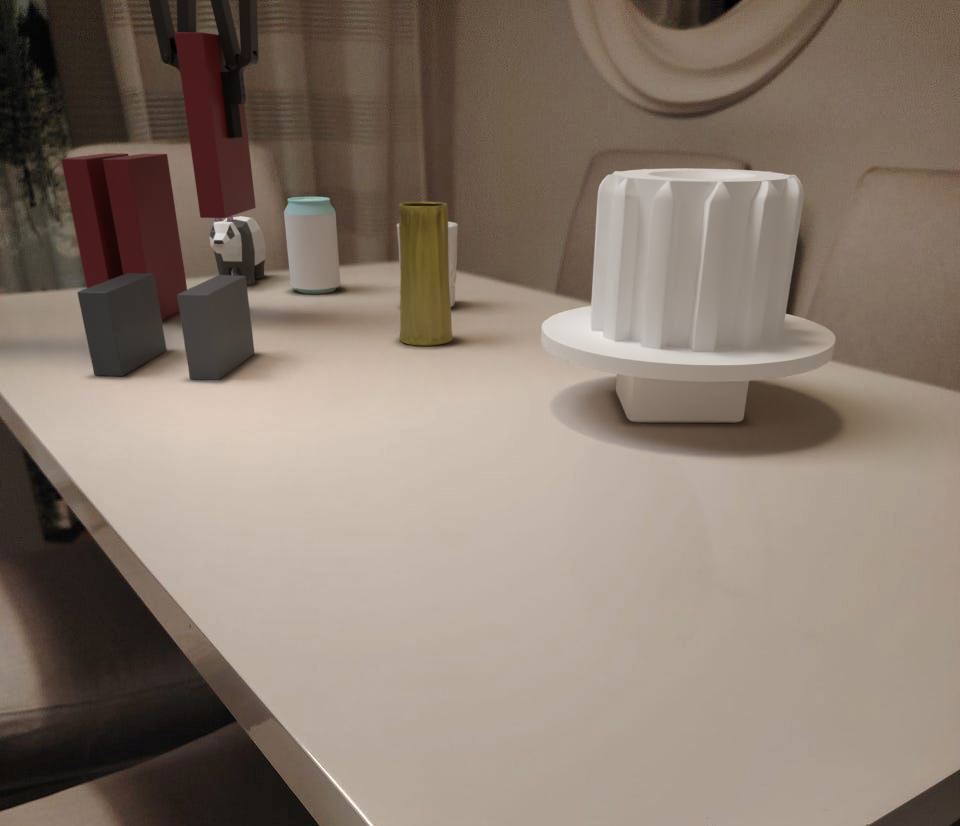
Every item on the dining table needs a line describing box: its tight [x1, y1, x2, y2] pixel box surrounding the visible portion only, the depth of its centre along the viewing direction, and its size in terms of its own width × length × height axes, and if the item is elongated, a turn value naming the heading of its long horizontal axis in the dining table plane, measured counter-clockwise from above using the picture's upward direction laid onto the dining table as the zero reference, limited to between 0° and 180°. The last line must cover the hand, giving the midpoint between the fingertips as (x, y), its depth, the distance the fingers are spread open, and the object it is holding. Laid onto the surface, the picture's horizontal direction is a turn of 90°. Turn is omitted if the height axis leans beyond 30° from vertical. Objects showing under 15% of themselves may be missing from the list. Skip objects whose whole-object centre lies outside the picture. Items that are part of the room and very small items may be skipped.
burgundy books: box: [60, 152, 188, 321], centre depth 116 cm, size 8×11×18 cm
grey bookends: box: [77, 273, 256, 381], centre depth 96 cm, size 13×11×8 cm
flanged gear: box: [540, 167, 836, 424], centre depth 80 cm, size 25×25×19 cm
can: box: [283, 196, 341, 295], centre depth 132 cm, size 7×7×12 cm
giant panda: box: [208, 215, 267, 286], centre depth 137 cm, size 15×6×10 cm, turn 176°
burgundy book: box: [175, 31, 257, 219], centre depth 108 cm, size 3×11×18 cm, turn 173°
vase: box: [398, 201, 454, 347], centre depth 104 cm, size 6×6×14 cm
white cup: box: [396, 221, 459, 308], centre depth 123 cm, size 8×8×10 cm
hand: (219, 136), depth 109 cm, fingers closed on burgundy book, 3 cm apart
